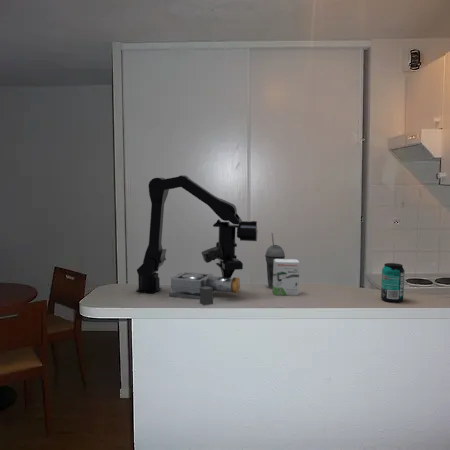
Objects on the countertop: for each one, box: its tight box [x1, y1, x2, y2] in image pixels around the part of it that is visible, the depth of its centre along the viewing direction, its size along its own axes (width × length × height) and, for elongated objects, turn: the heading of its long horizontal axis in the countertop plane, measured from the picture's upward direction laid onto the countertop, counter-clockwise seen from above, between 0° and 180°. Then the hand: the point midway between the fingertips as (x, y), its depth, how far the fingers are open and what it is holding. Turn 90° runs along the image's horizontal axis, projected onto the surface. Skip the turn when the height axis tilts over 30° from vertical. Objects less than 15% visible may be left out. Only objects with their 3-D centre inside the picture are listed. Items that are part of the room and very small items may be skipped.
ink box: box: [272, 258, 301, 296], centre depth 173 cm, size 9×5×12 cm, turn 93°
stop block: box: [199, 286, 214, 306], centre depth 160 cm, size 3×3×5 cm
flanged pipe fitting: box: [170, 271, 241, 294], centre depth 171 cm, size 22×12×5 cm, turn 73°
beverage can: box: [380, 262, 406, 304], centre depth 165 cm, size 7×7×12 cm
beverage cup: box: [264, 232, 286, 289], centre depth 182 cm, size 7×7×20 cm
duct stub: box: [168, 274, 214, 300], centre depth 172 cm, size 12×12×6 cm
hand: (225, 284), depth 172 cm, fingers closed
